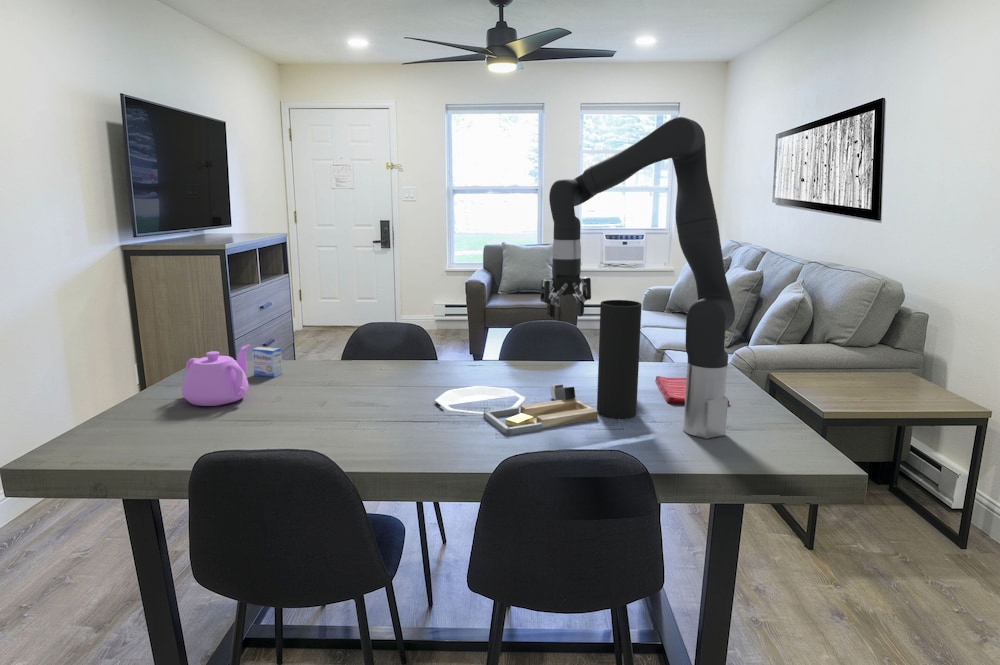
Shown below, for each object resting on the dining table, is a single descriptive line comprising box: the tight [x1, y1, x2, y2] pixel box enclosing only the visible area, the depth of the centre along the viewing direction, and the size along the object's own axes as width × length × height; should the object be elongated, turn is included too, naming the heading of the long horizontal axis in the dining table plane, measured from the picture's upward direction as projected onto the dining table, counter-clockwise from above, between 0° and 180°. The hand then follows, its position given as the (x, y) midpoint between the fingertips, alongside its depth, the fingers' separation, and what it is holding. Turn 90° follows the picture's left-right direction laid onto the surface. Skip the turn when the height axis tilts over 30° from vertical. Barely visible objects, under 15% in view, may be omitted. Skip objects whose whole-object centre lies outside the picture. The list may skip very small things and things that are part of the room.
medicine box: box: [251, 346, 283, 378], centre depth 210 cm, size 8×4×9 cm, turn 73°
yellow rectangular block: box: [505, 415, 526, 427], centre depth 163 cm, size 4×3×2 cm
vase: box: [596, 299, 643, 420], centre depth 169 cm, size 10×10×30 cm
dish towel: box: [654, 375, 730, 405], centre depth 193 cm, size 17×24×3 cm
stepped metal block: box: [549, 384, 576, 401], centre depth 180 cm, size 4×3×9 cm
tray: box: [483, 407, 543, 436], centre depth 164 cm, size 14×10×2 cm
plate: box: [434, 385, 526, 415], centre depth 183 cm, size 24×24×2 cm
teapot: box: [181, 343, 251, 407], centre depth 186 cm, size 22×22×14 cm
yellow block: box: [514, 412, 534, 425], centre depth 165 cm, size 4×3×2 cm
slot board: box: [520, 397, 599, 429], centre depth 169 cm, size 12×16×3 cm
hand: (565, 317), depth 177 cm, fingers open, 8 cm apart
